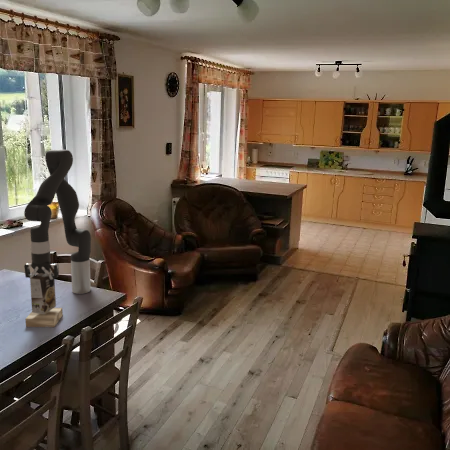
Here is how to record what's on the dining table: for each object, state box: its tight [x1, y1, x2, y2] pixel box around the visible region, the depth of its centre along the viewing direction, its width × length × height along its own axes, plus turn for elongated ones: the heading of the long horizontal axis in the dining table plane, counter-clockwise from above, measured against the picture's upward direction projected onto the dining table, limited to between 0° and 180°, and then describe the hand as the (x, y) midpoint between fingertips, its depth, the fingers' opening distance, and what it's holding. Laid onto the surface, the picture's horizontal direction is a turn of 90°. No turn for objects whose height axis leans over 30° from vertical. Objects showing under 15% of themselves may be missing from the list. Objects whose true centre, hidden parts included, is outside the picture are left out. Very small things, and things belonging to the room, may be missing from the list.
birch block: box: [25, 307, 64, 328], centre depth 199 cm, size 12×12×4 cm
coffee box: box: [29, 272, 57, 314], centre depth 196 cm, size 9×6×16 cm
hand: (42, 286), depth 196 cm, fingers closed on coffee box, 7 cm apart
